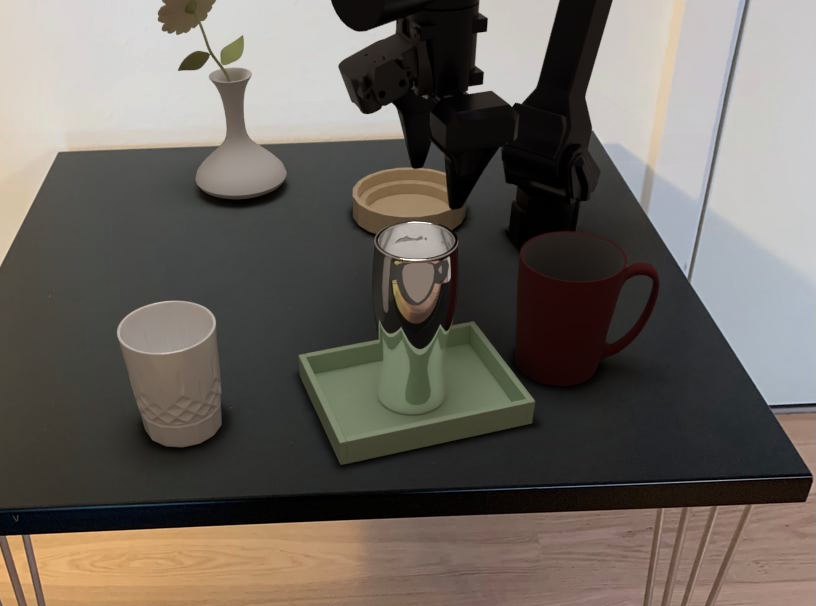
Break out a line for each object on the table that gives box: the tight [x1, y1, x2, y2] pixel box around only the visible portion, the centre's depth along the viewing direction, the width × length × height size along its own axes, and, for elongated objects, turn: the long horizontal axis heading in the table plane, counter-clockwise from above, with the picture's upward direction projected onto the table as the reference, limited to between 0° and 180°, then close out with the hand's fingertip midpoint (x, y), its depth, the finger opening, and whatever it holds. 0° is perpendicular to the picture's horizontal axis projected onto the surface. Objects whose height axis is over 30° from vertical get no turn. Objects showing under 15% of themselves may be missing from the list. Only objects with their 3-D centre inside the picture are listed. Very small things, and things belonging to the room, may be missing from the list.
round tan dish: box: [352, 167, 467, 235], centre depth 106 cm, size 13×13×3 cm
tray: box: [298, 320, 536, 466], centre depth 80 cm, size 17×13×2 cm
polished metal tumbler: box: [371, 221, 460, 415], centre depth 75 cm, size 7×7×15 cm
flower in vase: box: [157, 0, 288, 200], centre depth 105 cm, size 13×11×25 cm
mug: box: [514, 231, 660, 387], centre depth 80 cm, size 12×9×11 cm
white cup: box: [116, 300, 223, 448], centre depth 75 cm, size 8×8×10 cm
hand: (435, 187), depth 83 cm, fingers open, 9 cm apart
